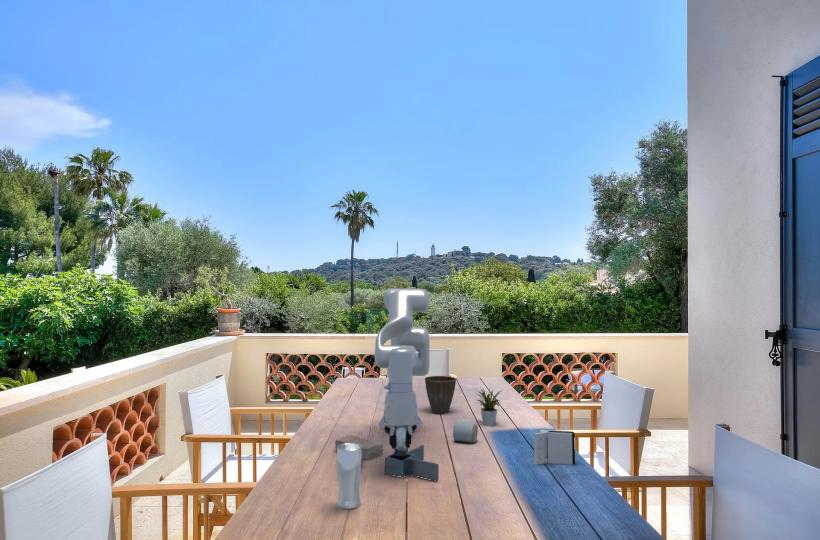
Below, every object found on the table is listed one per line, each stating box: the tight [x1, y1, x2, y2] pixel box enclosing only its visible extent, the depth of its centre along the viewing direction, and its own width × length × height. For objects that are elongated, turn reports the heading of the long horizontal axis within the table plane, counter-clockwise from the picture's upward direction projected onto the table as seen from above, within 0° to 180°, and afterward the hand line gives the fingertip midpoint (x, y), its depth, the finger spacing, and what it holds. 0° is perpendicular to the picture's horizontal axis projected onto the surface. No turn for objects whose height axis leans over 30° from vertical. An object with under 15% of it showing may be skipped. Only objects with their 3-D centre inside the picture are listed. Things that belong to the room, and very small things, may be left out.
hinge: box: [533, 429, 576, 466], centre depth 164 cm, size 14×5×10 cm, turn 93°
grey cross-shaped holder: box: [384, 444, 440, 482], centre depth 155 cm, size 17×17×5 cm
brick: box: [334, 434, 384, 461], centre depth 173 cm, size 17×8×5 cm, turn 51°
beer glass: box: [335, 443, 364, 510], centre depth 130 cm, size 7×7×15 cm
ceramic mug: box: [452, 419, 479, 444], centre depth 188 cm, size 11×8×8 cm
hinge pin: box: [393, 426, 408, 456], centre depth 154 cm, size 5×5×11 cm
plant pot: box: [424, 375, 457, 415], centre depth 234 cm, size 15×15×16 cm
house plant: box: [476, 387, 503, 426], centre depth 213 cm, size 14×14×16 cm
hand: (400, 446), depth 154 cm, fingers closed on hinge pin, 4 cm apart
